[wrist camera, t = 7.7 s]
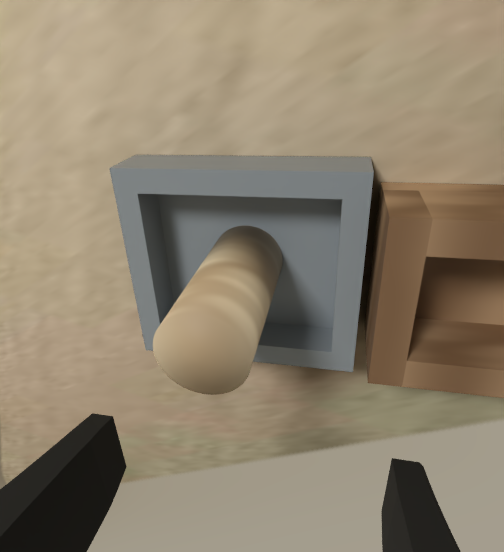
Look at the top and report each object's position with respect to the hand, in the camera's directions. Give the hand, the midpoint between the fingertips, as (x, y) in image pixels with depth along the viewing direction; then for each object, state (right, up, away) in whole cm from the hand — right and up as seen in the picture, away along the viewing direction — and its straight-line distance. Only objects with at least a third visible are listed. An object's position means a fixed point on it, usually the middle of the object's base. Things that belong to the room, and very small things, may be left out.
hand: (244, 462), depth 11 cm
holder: (+9, +5, +7) cm, 12 cm away
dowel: (0, +6, +8) cm, 10 cm away
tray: (0, +6, +9) cm, 11 cm away
